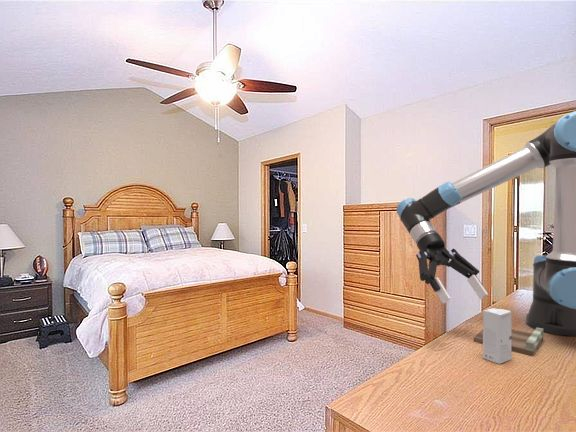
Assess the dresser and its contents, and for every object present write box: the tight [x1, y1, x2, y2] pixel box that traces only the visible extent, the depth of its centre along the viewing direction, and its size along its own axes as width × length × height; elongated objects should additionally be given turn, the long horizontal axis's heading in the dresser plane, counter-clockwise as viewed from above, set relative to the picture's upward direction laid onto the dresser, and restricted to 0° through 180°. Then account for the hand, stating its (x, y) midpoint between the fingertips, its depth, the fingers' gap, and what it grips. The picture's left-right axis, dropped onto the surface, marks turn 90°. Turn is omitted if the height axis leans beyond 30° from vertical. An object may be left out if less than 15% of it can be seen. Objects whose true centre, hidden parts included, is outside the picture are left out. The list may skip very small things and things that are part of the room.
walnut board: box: [473, 328, 544, 357], centre depth 100 cm, size 16×14×3 cm
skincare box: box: [482, 307, 512, 364], centre depth 88 cm, size 6×4×12 cm
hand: (466, 299), depth 96 cm, fingers open, 13 cm apart
